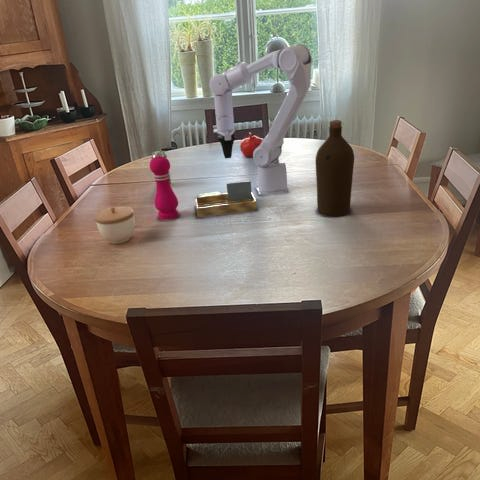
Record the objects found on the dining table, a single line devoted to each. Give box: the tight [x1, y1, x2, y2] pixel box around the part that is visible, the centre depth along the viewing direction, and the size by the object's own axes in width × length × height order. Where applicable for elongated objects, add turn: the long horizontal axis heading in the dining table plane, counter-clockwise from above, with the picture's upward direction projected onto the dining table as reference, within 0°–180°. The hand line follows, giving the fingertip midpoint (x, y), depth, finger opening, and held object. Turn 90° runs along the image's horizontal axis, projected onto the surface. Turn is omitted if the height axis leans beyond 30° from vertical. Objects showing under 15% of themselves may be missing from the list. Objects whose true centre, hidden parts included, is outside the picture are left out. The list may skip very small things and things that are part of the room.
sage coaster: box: [198, 191, 222, 197], centre depth 160 cm, size 8×1×8 cm
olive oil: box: [315, 119, 355, 218], centre depth 135 cm, size 11×11×25 cm
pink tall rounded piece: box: [150, 150, 172, 185], centre depth 173 cm, size 5×5×12 cm
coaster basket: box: [194, 192, 258, 218], centre depth 150 cm, size 18×11×3 cm, turn 97°
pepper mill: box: [149, 150, 180, 221], centre depth 144 cm, size 7×7×20 cm
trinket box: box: [93, 206, 136, 244], centre depth 135 cm, size 11×11×9 cm
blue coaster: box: [225, 180, 253, 202], centre depth 149 cm, size 8×1×8 cm, turn 97°
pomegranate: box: [239, 131, 263, 158], centre depth 199 cm, size 10×10×9 cm
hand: (227, 157), depth 162 cm, fingers closed
